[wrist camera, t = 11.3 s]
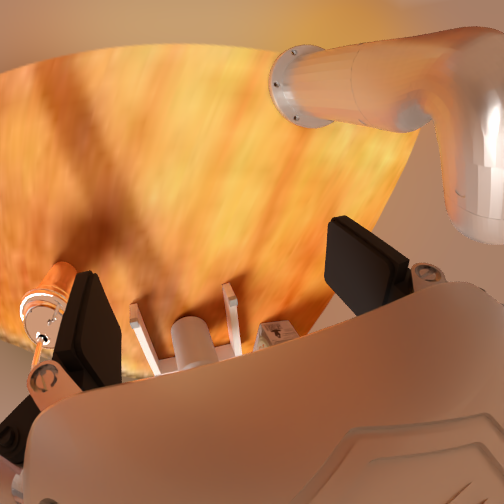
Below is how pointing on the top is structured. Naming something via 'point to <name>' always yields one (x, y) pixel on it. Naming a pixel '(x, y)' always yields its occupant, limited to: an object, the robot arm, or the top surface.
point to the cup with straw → (47, 307)
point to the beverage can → (192, 343)
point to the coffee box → (274, 334)
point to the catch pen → (170, 363)
